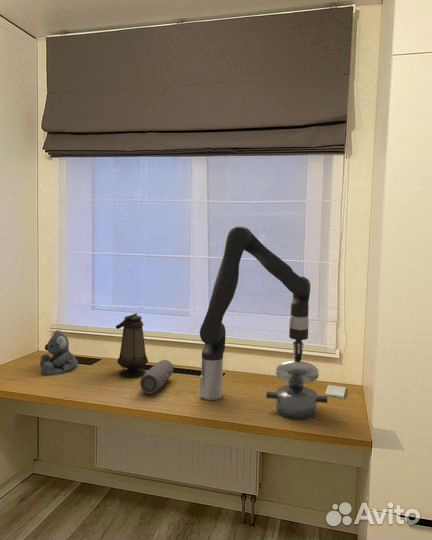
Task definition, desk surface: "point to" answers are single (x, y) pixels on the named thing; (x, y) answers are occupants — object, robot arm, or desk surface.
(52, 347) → the koala plush
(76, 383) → the desk surface
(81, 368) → the desk surface
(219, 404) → the desk surface
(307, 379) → the lid
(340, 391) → the hard drive
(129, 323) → the lantern
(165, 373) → the bluetooth speaker
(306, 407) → the pot
